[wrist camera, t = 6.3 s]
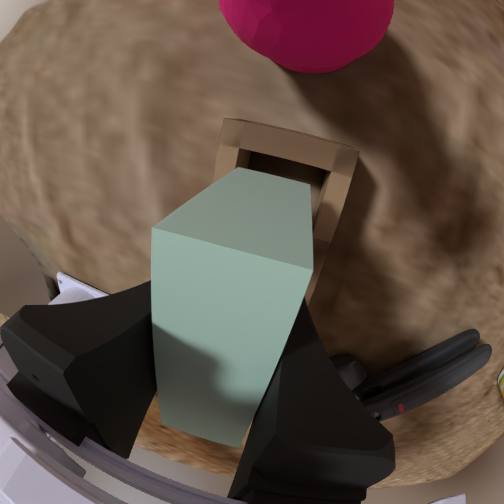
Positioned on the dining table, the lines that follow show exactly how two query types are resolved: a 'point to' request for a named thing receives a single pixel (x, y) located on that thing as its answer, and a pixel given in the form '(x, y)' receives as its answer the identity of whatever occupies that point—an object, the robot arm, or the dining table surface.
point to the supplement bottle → (501, 382)
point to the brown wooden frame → (300, 150)
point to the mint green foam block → (227, 298)
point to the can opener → (414, 375)
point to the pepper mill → (309, 30)
